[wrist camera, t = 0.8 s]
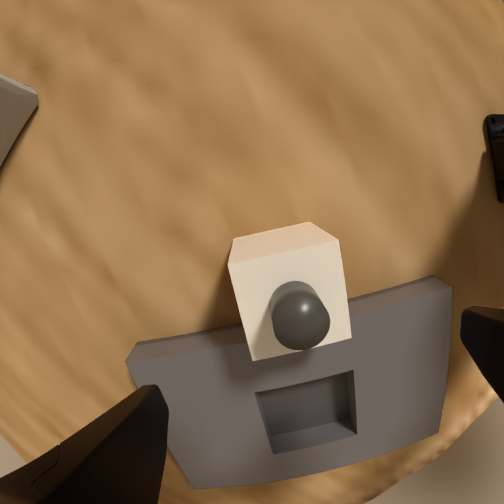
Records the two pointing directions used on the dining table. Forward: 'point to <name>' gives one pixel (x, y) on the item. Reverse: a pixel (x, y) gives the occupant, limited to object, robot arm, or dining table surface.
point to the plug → (289, 290)
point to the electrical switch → (14, 111)
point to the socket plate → (304, 391)
